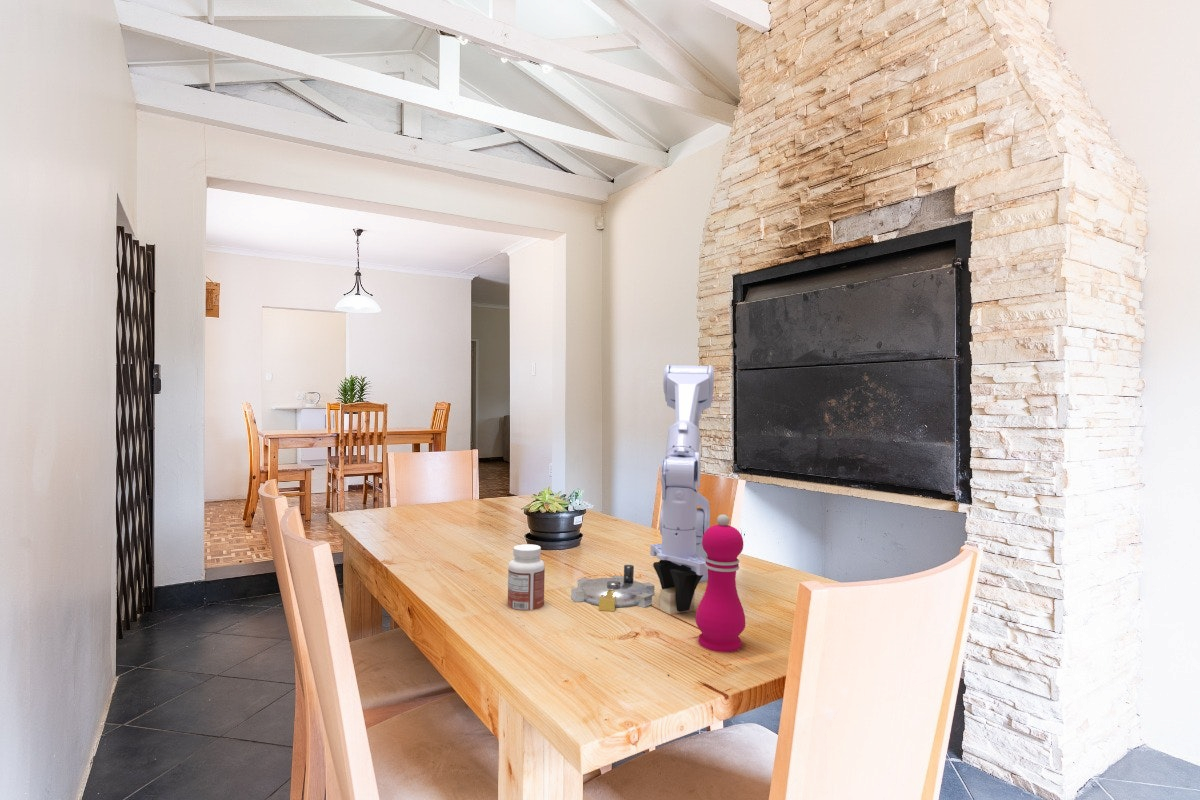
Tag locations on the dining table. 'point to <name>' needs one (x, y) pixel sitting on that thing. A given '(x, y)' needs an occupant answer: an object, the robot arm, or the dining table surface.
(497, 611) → the dining table surface
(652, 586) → the sprocket
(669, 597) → the banded wooden block
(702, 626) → the pepper mill
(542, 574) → the pill bottle
